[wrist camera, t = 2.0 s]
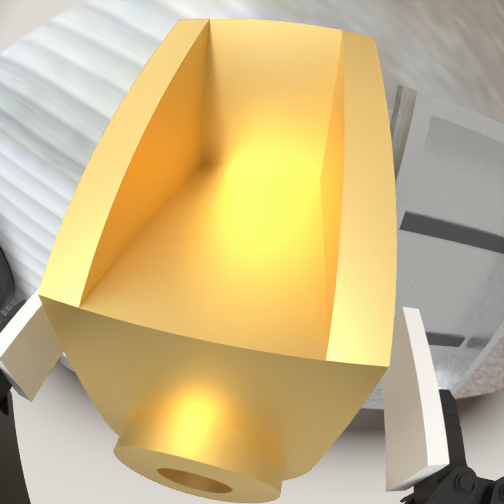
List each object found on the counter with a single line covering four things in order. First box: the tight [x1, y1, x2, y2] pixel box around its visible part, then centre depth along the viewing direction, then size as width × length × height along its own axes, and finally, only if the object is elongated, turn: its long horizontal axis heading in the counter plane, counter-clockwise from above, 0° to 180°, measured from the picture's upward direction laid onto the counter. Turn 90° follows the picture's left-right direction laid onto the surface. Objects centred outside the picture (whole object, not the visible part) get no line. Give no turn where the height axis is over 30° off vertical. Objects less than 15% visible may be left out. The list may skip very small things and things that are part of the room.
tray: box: [361, 85, 504, 409], centre depth 20 cm, size 14×26×4 cm, turn 175°
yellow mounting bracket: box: [38, 19, 397, 503], centre depth 14 cm, size 20×9×16 cm, turn 175°
